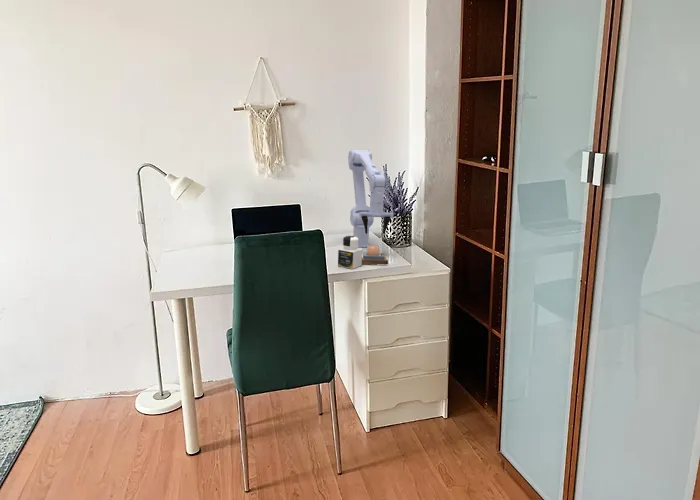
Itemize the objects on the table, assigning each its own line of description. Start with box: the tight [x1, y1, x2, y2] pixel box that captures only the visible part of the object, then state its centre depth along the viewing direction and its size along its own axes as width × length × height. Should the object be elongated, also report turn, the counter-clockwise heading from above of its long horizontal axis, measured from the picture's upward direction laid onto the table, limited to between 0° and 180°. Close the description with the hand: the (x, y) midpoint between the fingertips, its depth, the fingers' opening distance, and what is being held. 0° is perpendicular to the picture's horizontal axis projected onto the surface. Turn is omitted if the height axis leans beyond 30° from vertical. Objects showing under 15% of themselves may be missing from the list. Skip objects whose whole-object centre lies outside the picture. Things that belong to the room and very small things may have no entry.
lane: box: [361, 252, 389, 266], centre depth 246 cm, size 14×11×2 cm
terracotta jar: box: [366, 244, 380, 256], centre depth 246 cm, size 5×5×6 cm
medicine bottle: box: [337, 235, 363, 270], centre depth 235 cm, size 7×7×12 cm
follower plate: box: [362, 254, 385, 260], centre depth 243 cm, size 1×8×2 cm, turn 96°
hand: (375, 233), depth 254 cm, fingers open, 7 cm apart
